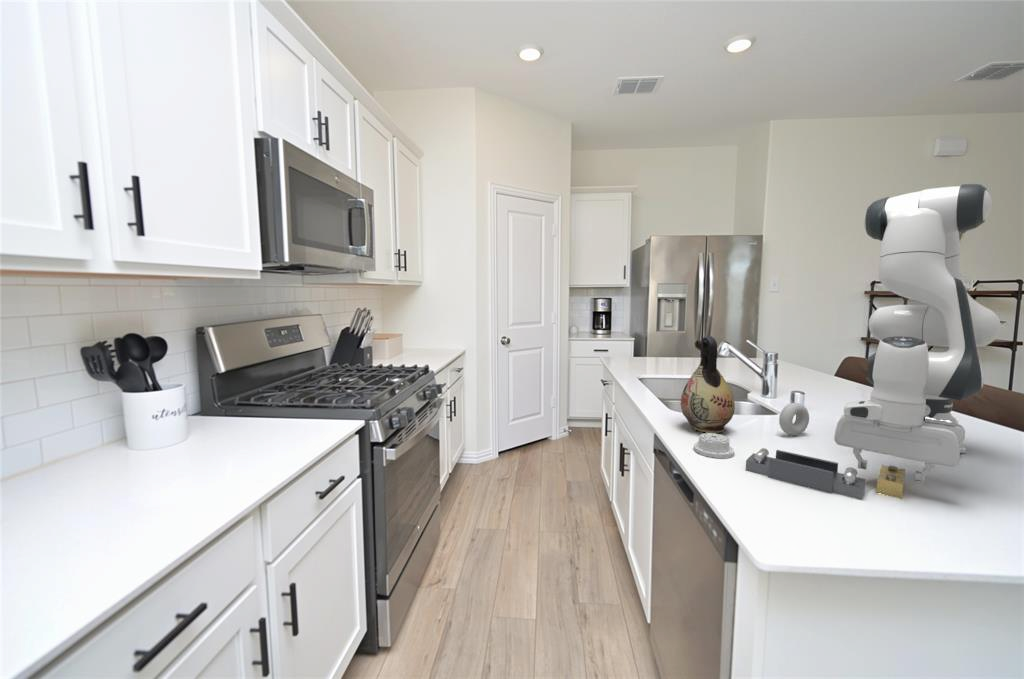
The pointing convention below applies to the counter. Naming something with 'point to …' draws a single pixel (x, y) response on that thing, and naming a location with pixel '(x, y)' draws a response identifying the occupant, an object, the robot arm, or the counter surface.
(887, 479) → the gold block with knob
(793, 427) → the donut
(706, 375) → the ceramic jug
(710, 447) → the mechanical component
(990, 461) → the counter surface
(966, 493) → the counter surface
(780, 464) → the linear slide rail
